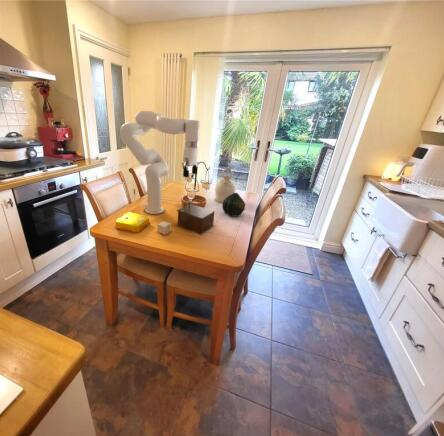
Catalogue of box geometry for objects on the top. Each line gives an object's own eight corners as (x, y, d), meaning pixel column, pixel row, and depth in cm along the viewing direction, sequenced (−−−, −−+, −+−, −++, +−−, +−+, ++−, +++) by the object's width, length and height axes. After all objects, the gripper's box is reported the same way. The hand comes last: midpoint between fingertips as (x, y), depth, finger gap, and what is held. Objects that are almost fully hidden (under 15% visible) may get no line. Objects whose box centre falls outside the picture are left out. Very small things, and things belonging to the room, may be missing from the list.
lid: (176, 211, 137) (177, 203, 135) (190, 204, 147) (190, 197, 145) (202, 219, 128) (202, 211, 125) (214, 212, 138) (215, 204, 135)
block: (157, 232, 132) (157, 224, 130) (163, 228, 135) (163, 221, 133) (164, 234, 129) (164, 226, 127) (170, 231, 133) (170, 223, 130)
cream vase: (219, 195, 192) (222, 165, 181) (237, 200, 184) (241, 168, 173) (210, 200, 180) (213, 168, 170) (228, 205, 172) (233, 172, 162)
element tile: (137, 233, 129) (137, 225, 127) (114, 228, 134) (114, 220, 132) (150, 222, 142) (150, 215, 140) (128, 218, 147) (128, 211, 145)
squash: (226, 212, 147) (242, 193, 146) (214, 204, 160) (229, 187, 159) (239, 223, 155) (253, 205, 154) (226, 215, 167) (240, 199, 167)
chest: (177, 225, 140) (178, 211, 137) (190, 218, 150) (191, 205, 146) (200, 234, 131) (202, 220, 128) (212, 225, 141) (214, 212, 138)
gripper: (193, 142, 136) (191, 171, 143) (177, 145, 123) (176, 177, 130) (204, 143, 133) (202, 173, 140) (189, 146, 119) (188, 179, 126)
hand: (190, 175), depth 135 cm, fingers open, 9 cm apart
